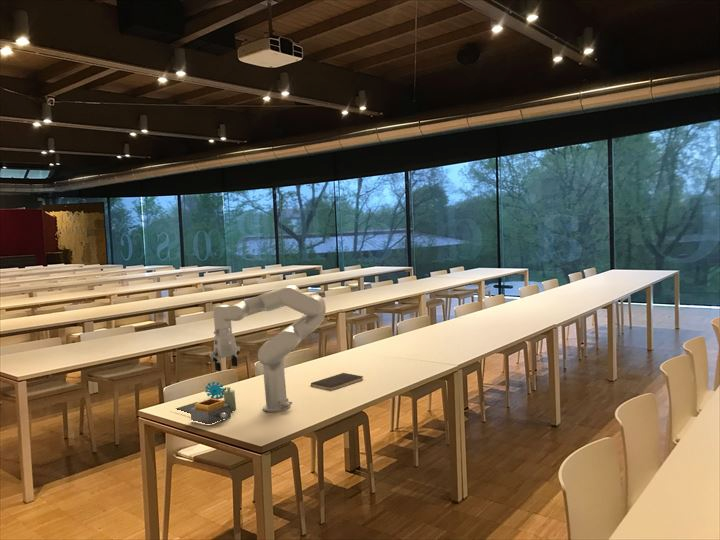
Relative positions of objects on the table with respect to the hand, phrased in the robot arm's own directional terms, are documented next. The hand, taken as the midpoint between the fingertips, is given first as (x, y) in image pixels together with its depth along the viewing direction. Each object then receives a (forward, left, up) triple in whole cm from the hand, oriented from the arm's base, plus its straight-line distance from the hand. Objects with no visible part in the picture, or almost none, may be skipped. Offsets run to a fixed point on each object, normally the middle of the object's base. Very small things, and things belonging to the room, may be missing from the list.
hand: (226, 368), depth 265 cm
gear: (+24, -12, -20) cm, 34 cm away
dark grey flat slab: (+17, +7, -21) cm, 28 cm away
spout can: (0, 0, -20) cm, 20 cm away
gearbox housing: (-4, +13, -20) cm, 24 cm away
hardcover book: (-18, -57, -21) cm, 63 cm away
